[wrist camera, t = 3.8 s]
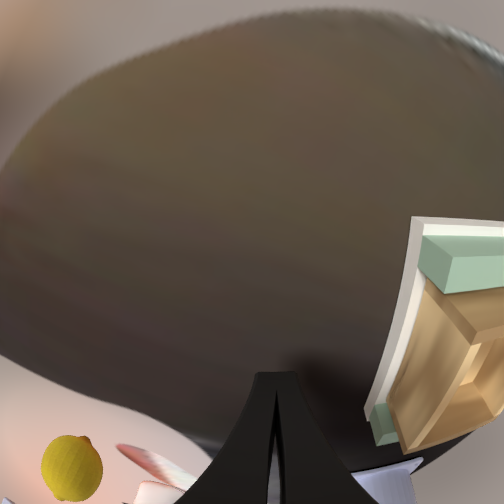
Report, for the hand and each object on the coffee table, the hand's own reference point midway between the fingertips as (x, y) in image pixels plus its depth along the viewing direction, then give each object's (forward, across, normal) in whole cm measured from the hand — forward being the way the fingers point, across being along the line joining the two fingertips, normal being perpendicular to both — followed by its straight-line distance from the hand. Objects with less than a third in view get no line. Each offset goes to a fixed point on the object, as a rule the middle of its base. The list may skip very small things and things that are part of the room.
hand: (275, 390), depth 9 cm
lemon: (+3, +17, +14) cm, 22 cm away
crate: (+2, -9, 0) cm, 9 cm away
